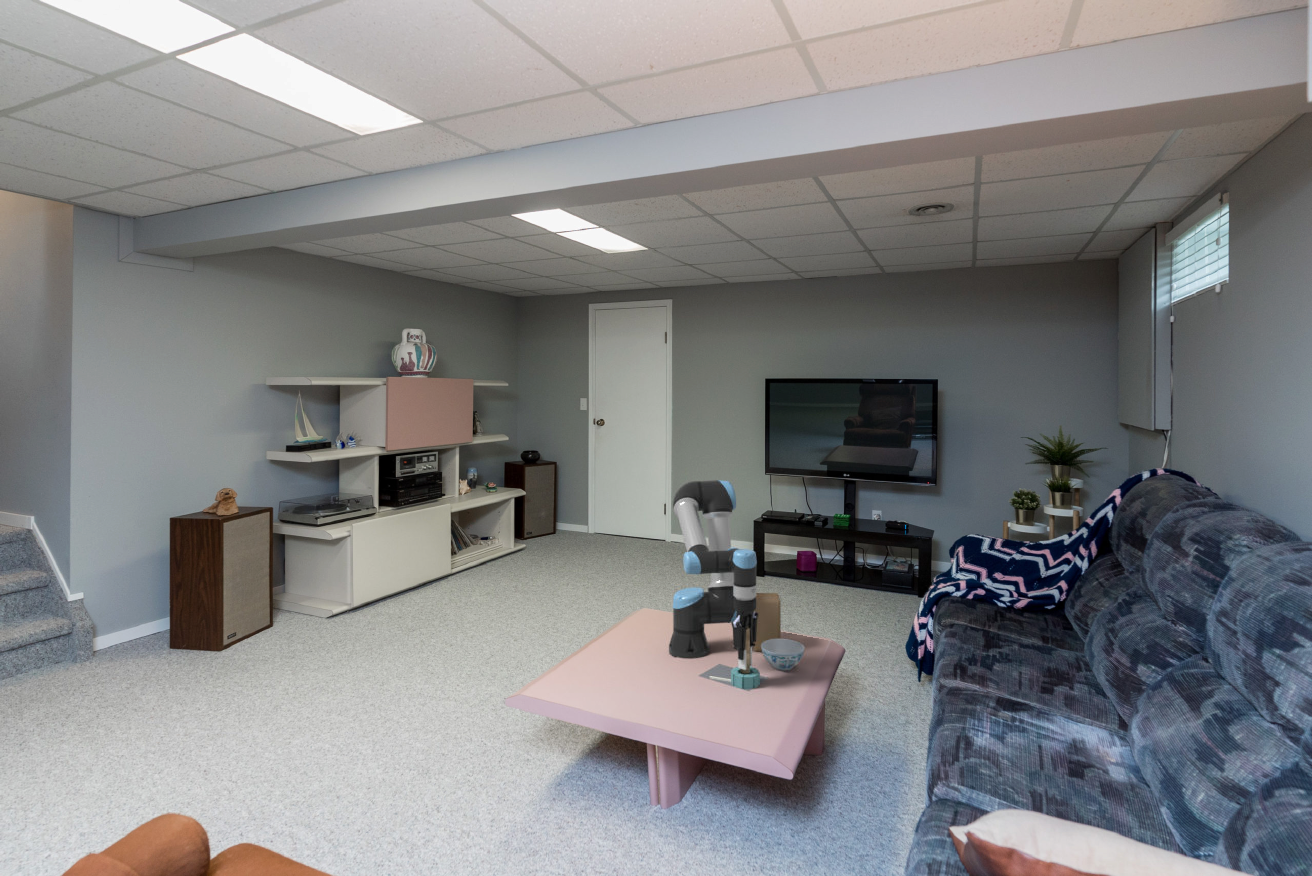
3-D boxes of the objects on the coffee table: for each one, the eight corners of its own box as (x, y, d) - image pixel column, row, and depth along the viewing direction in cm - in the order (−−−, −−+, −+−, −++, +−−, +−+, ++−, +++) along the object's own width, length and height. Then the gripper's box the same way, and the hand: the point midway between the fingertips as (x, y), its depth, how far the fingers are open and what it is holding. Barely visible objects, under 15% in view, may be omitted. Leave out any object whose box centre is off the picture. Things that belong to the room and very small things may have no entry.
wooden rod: (739, 676, 227) (738, 624, 226) (743, 673, 229) (743, 622, 228) (746, 678, 225) (746, 626, 224) (751, 675, 227) (751, 624, 226)
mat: (698, 676, 234) (698, 675, 234) (719, 664, 244) (719, 663, 244) (748, 692, 221) (748, 690, 221) (768, 678, 231) (768, 677, 231)
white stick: (709, 678, 232) (709, 676, 232) (710, 677, 232) (710, 675, 232) (732, 681, 228) (732, 680, 228) (732, 681, 229) (732, 679, 229)
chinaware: (802, 678, 232) (802, 656, 231) (758, 673, 236) (758, 651, 236) (806, 661, 246) (806, 640, 245) (764, 657, 250) (764, 636, 250)
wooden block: (778, 643, 264) (778, 592, 263) (780, 653, 254) (780, 600, 253) (752, 642, 265) (752, 591, 264) (753, 652, 255) (753, 599, 254)
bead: (726, 684, 227) (726, 672, 226) (741, 675, 234) (740, 663, 233) (750, 691, 221) (749, 679, 221) (764, 682, 228) (764, 670, 228)
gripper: (741, 605, 217) (742, 677, 218) (767, 593, 229) (767, 661, 231) (721, 600, 222) (722, 671, 223) (747, 589, 234) (748, 656, 236)
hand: (745, 666), depth 227 cm, fingers closed on wooden rod, 3 cm apart
